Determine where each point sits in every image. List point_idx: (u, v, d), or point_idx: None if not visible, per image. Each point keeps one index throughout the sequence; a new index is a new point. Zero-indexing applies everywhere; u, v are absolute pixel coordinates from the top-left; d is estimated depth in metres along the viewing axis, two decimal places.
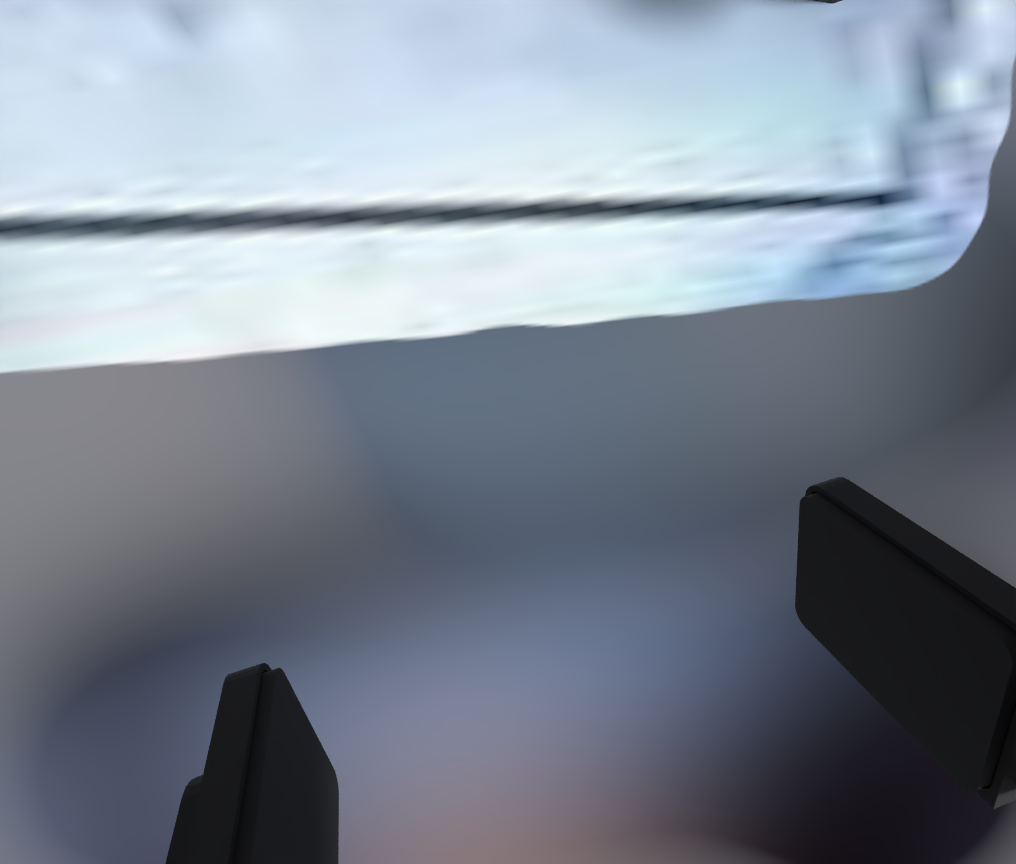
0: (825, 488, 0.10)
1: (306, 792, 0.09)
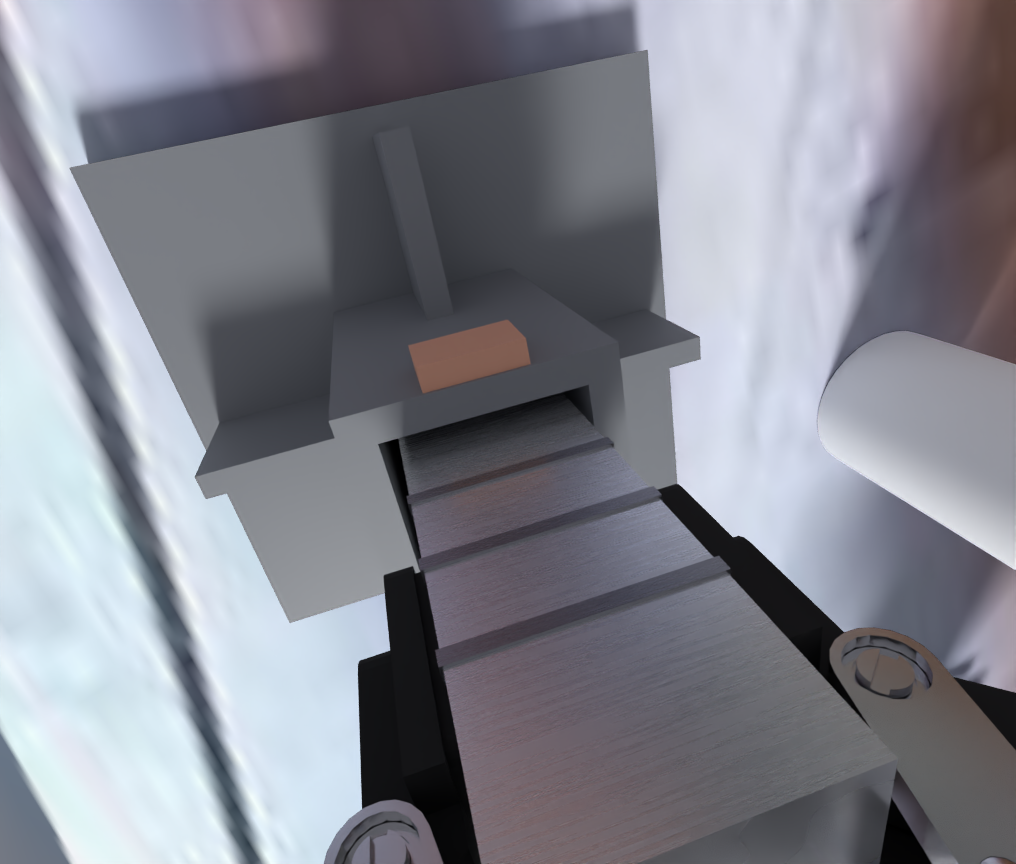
0: None
1: None
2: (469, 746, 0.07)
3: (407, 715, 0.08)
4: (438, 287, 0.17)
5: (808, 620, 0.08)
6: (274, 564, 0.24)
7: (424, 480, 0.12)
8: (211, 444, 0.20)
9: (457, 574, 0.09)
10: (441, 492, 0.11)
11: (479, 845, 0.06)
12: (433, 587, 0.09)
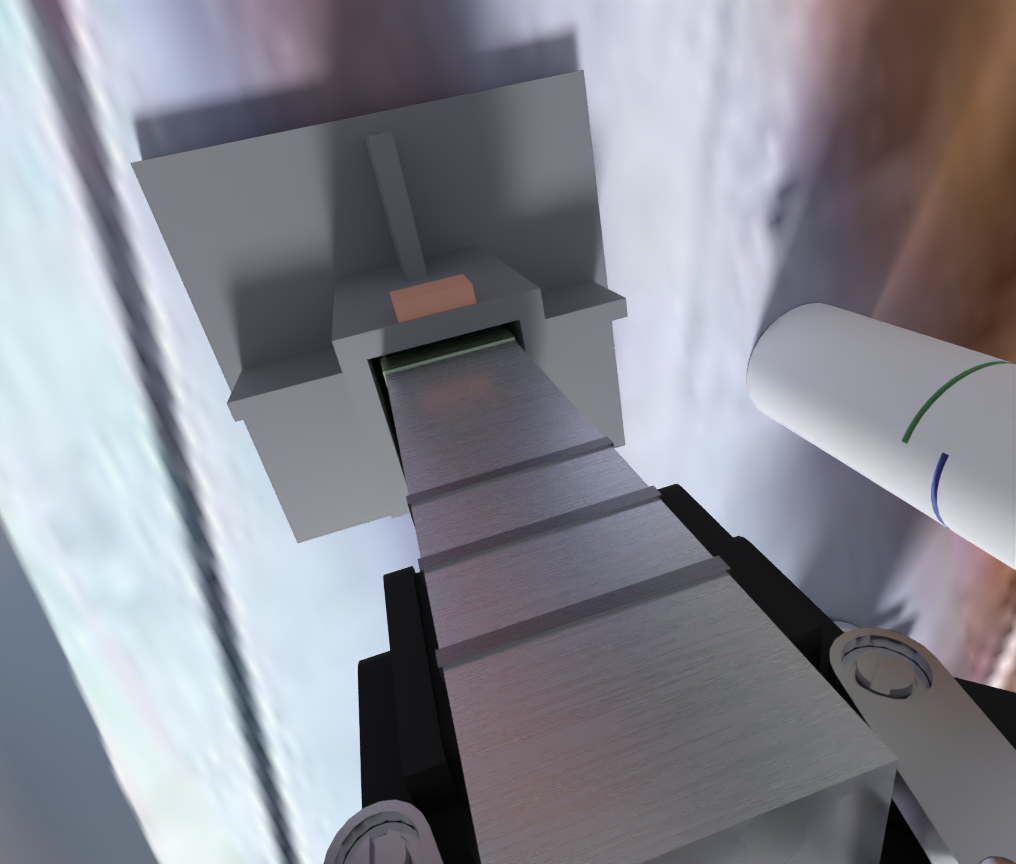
0: None
1: None
2: (469, 747, 0.07)
3: (407, 715, 0.08)
4: (415, 255, 0.22)
5: (808, 620, 0.08)
6: (285, 491, 0.29)
7: (424, 480, 0.12)
8: (237, 383, 0.25)
9: (457, 574, 0.09)
10: (440, 492, 0.11)
11: (479, 846, 0.06)
12: (433, 587, 0.09)
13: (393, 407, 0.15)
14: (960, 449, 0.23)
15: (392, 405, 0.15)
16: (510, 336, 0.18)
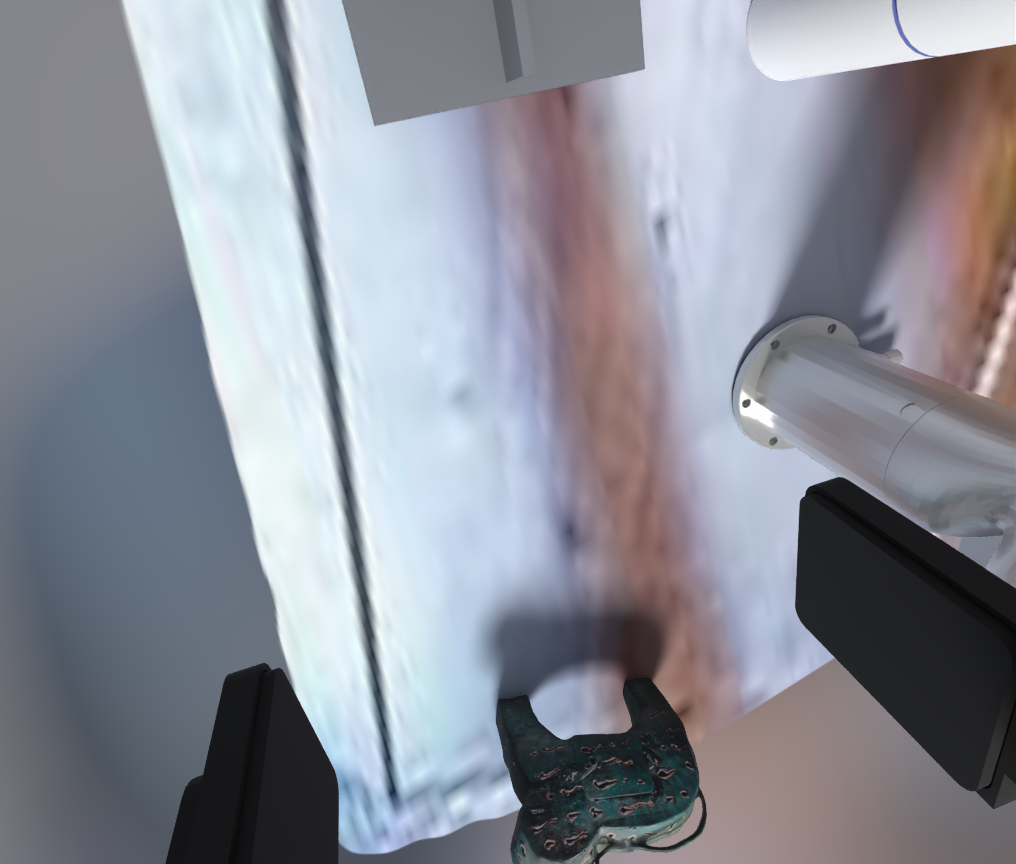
0: (825, 488, 0.10)
1: (306, 792, 0.09)
2: None
3: None
4: None
5: None
6: (368, 67, 0.36)
7: None
8: None
9: None
10: None
11: None
12: None
13: None
14: None
15: None
16: None
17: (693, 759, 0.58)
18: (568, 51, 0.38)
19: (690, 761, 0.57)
